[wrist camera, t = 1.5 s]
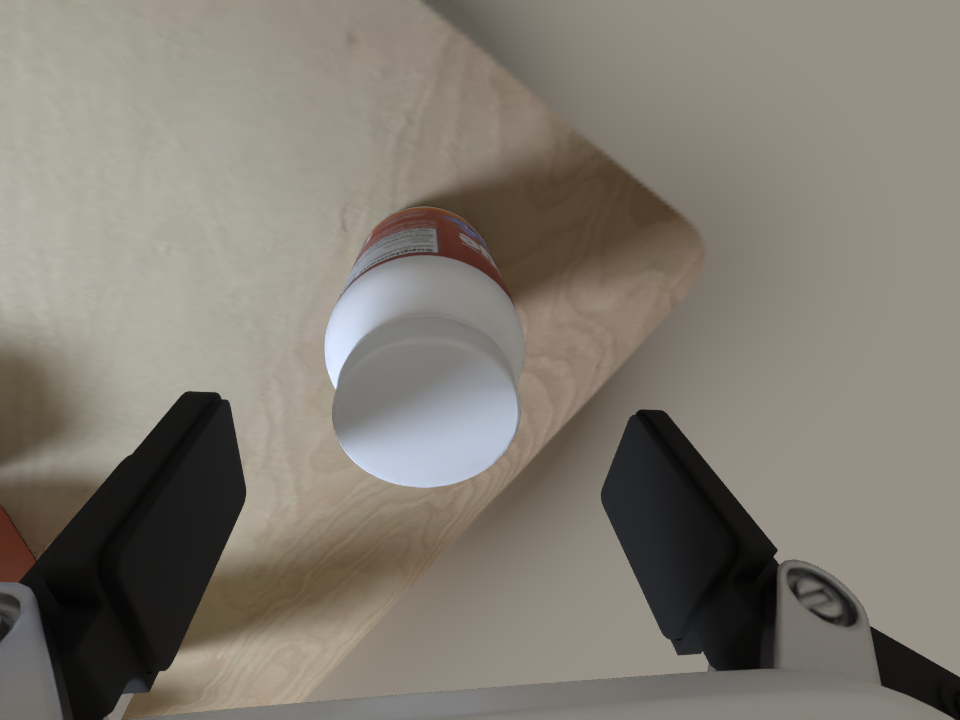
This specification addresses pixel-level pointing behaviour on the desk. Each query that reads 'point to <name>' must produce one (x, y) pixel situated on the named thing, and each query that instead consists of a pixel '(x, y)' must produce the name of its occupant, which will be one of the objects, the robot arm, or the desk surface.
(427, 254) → the pill bottle
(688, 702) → the robot arm
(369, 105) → the desk surface
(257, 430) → the desk surface
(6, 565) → the block
